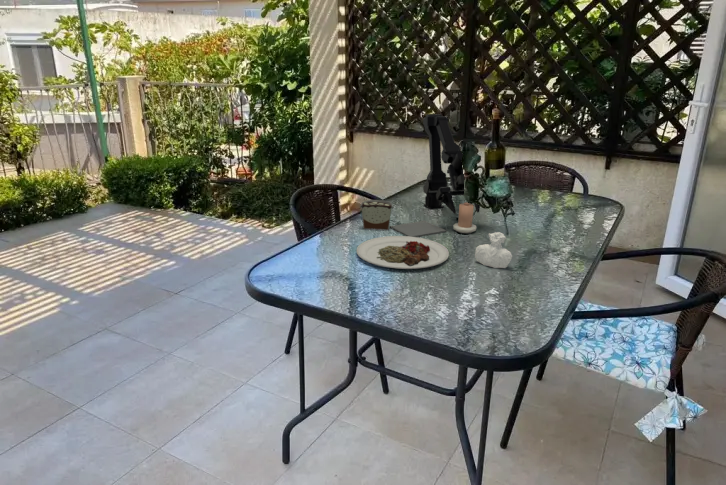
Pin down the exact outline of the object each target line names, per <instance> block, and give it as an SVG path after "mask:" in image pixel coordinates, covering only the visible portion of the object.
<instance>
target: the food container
mask: <svg viewBox="0 0 726 485" xmlns="http://www.w3.org/2000/svg"><path fill="white" fill-rule="evenodd" d="M360 203H361V204H360V206H359V208H360V209H361V217H362V224H363V226H362V227H363V230H381V231H389V228H390V222H391V215H392V210H394V207H393V203H392V202H390V201H388V200H383V199H368V200H364V201H362V202H360Z"/></svg>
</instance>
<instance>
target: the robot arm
mask: <svg viewBox="0 0 726 485" xmlns="http://www.w3.org/2000/svg"><path fill="white" fill-rule="evenodd" d="M422 124H423V127H424V131H425V133H426V134H427V135H428V144H429V167H430V168H429V172H428V174H427V175H426V181H425V183H424V185H423V187H422V188H423V190H422V191H423V193H424V194H425V198H424V199H425V200H424V204H423V207H426V208H428V209H430V210H434V209H440V208H444V207H445V206H446V207H447V208H448V209H449V210H450V211H451V212H452V213H453V215H454V214H456V212H457V210H456V207H455V206H456V205H455V204H454V200H453V196H465V195H464V174H463V169H462V162H461V161H462V156H463V154H462V153H461V151H460V148H461V147H462V146H460V145H459V144H457V143H456V142H455V140H454V137H453V134H452V131H451V128H450V124H449V118H448V117H447V116H443V115H442V114H439V113H437V114H435V113H434V114H426V115H425V116H424V117H423V120H422ZM441 146H442V148H441ZM442 162H443V164H445V165H446V164H448V166H447V169H446V170H447V171H446V172H444V171H443V170H442V169H443V168H442ZM446 173H447V174H448V176H449V179H450V183H449V185H450V186H448V180H447V174H446ZM451 188H452V190H451ZM442 204H444V205H445V206H444V205H442ZM473 205H474V207H475V211H476V212H477V213H479V212H480V211H481V210H480V209H481V208H480V207H481V204H480V205H477V204H476V203H474V202H473Z"/></svg>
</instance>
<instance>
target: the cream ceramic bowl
mask: <svg viewBox="0 0 726 485" xmlns="http://www.w3.org/2000/svg"><path fill="white" fill-rule="evenodd" d="M452 226H453V228H452V229H453V230H454V231H456V232H457V233H461V234H472V233H474V232H476V231H477V225H476V224H475V223H472V227H470V228H462V227H459V226H458V222H456V223H454V224H453V225H452Z"/></svg>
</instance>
